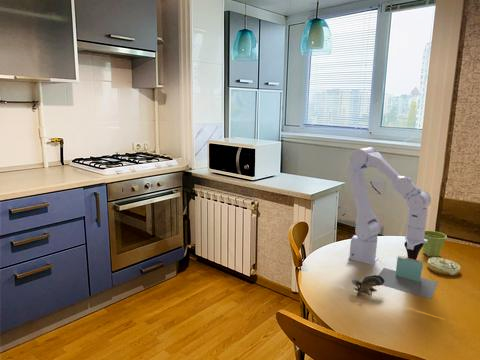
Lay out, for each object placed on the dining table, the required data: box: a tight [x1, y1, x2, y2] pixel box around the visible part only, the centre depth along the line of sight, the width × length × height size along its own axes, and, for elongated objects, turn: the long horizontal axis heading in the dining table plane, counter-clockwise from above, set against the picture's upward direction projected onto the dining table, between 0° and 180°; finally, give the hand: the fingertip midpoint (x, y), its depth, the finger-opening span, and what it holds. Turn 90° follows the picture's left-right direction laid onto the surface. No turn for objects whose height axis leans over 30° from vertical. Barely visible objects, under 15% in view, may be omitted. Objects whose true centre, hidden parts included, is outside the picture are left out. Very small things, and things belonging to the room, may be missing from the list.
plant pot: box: [422, 230, 448, 258], centre depth 148 cm, size 9×9×9 cm
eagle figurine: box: [351, 274, 385, 297], centre depth 117 cm, size 8×7×9 cm
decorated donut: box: [426, 256, 461, 276], centre depth 134 cm, size 10×11×4 cm
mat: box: [378, 267, 439, 300], centre depth 124 cm, size 18×14×1 cm
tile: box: [395, 255, 424, 282], centre depth 126 cm, size 8×2×7 cm, turn 54°
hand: (411, 262), depth 129 cm, fingers closed
